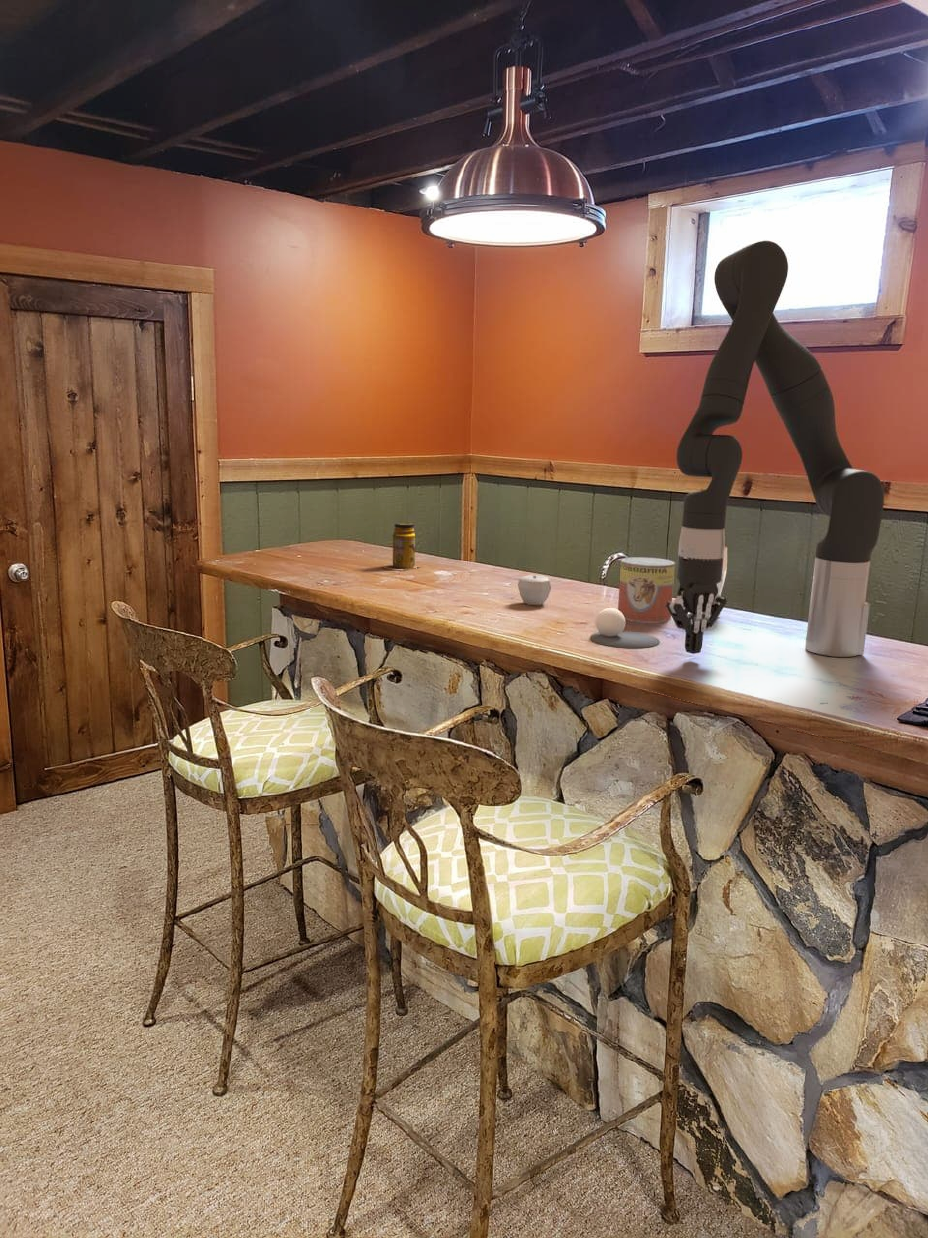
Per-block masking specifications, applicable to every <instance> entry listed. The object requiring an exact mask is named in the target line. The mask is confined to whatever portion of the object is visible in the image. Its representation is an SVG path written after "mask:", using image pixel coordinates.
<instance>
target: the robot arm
mask: <svg viewBox="0 0 928 1238" xmlns="http://www.w3.org/2000/svg"><path fill="white" fill-rule="evenodd" d="M788 263H789V262H788V257H787V255H786V253H785V251H784V250H783V248H782V247H781V246H780V245H779V244H778V243H777V242H775V241H772V240H767V239H763V240H757V241H755V242H753V243H750V244H748V245H746V246H744V247H742V248H741V249H739V250H737V251H735V252H733V253H731V254H729V255H727V256H725V257H724V258H722V259H721V260H720V262H719V263H718V264H717V266H716V268H715V272H714V285H715V290H716V292H717V293H716V294H717V296H718V297H719V300H720V301H721V303H722V304H721V305H723V307H724V310H725V311H726V312H727V314H728V316H729V317H730V318H731V324H730V327H729V328H728V331H727V332H726V334H725V336H724V338H723V339H722V342H721V343H720V345H719V347H718V349H717V350H716V352H715V354H714V356H713V358H712V360H711V363H709V364H710V365H709V367H708V369H707V373H706V377H705V379H704V384H703V389H702V392H701V397H700V401H699V404H698V407H697V409H696V411H695V413H694V415H693V416H692V419H691V421H690V423H689V424H688V426H687V427H686V430H685V431H684V433H683V435H682V436H681V439H680V441H679V443H678V447H677V450H676V458H675V459H676V465H677V468H678V469H679V471H680V472H681V473H682V474H683V475H685V476H689V477H701V478H711V481H710V483H709V485H708V486H707V488H706V489H704V490H696V491H691V492H689V493H687V494H686V495H685V497H684V498H683V499H684V501H683V508H682V523H681V530H680V536H679V540H678V542H679V543H678V555H677V563H676V564H677V565H676V567H677V568H676V579H677V581H678V582H679V587H678V589H677V591H676V598H675V599H674V600H672V602H670V601H669V602H667V604H666V607H667V609H668V611H669V612H670V614H671V619H673V622H674V624H675V626H676V627H677V628H678V629H681V630H684V632H685V636H684V637H685V639H684V640H685V641H684V648H685V652H687V653H688V654H693V655H695V654H699V653H701V652H702V648H703V639H704V632H706V629H708V628H712V627H713V626H714V624H715V622H716V621H717V619H718V616H719V614H720V615H721V613H722V611H723V609H724V608H725V606H726V604H727V598H726V597H721V595H720V596H719V594H718V587H717V584H718V583H720V582H721V580H722V570H723V559H724V547H726V546H725V544H726V536H725V528H726V519H727V517H726V515H727V506H728V501H729V498H730V495H731V492H732V489H733V488H734V487H733V486H734V483H735V480H736V478H737V476H738V473H739V470H740V468H741V464H742V461H743V449H742V446H741V443H740V441H739V440H738V439H737V438H736V437H735V436H733V435H730V434H729V435H728V434H714V432H715V431H717V429H719V428H723V427H726V426H729V425H733V424H735V423H737V422H738V421H739V420H740V419H741V415H742V414H743V413H742V412H743V410H744V409H743V408H744V404H745V401H746V395H747V391H748V387H749V385H750V383H749V382H750V379H751V375H752V371H753V368H754V364H755V365H756V367H757V369H758V370H759V372H760V375H761V377H762V379H763V381H764V384H765V386H766V388H767V390H768V394H769V395H770V398H771V400H772V402H773V404H774V406H775V409H776V410H777V413H778V415H779V416H780V418H781V420H782V423H783V424H784V427H785V428H786V431H787V433H788V435H789V437H790V439H791V441H792V443H793V445H794V447H795V449H796V451H797V453H798V455H799V457H800V459H801V463H802V464H803V469H804V470H805V473H806V477H807V479H808V482H809V485H810V489H811V493H812V495H813V498H814V501H815V503H816V505H817V506H818V509H820V511H821V513H823V514H825V515H826V516H827V517H829V522H828V527H827V531H826V534H825V536H824V537H823V538H822V539H821V540H819V541H818V542H817V543H816V548H815V555H814V556H815V557H814V558H815V559H814V565H813V576H812V584H811V591H810V592H811V594H810V602H809V612H808V621H807V630H806V637H805V649H806V650H807V651H808V652H810V653H814V654H818V655H822V656H826V657H827V656H829V657H835V658H836V657H837V658H849V657H855V656H864V653H865V646H866V636H867V629H868V622H869V613H870V603H869V602H866V597H867V590H868V589H867V588H868V582H869V573H870V567H871V566H870V565H871V557H872V552H873V551H874V549H875V547H876V545H877V543H878V539H879V533H880V530H881V528H880V527H881V523H882V516H883V511H884V504H885V489H884V486H883V483H882V481H881V480H880V478H879V477H878V476H877V475H876V474H874V473H873V472H871V471H868V470H864V469H856V468H854V467H853V466H852V465H853V464H851V462H850V460H849V459H848V457H847V455H846V452H845V451H844V449H843V447H842V445H841V443H840V439H839V436H838V433H837V426H836V407H835V400H834V396H833V393H832V390H831V387H830V384H829V382H828V380H827V378H826V377H827V376H825V374H824V371H823V369H822V366H821V364H820V362H819V361H818V360H817V358H816V357H815V355H814V354H813V353H812V352H811V351H810V349H808V348H807V347H806V346H805V345H804V344H802V342H800V341H799V340H798V339H797V338H795V337H794V336H793V335H791V334H790V332H788V331H787V330H786V329H785V328H784V327H783V326H782V325H781V323H780V322H779V320H778V319H777V318H776V315H775V314H774V311H775V309H776V307H777V304H778V302H779V299H780V297H781V295H782V293H783V290H784V288H785V287H784V286H785V284H786V281H787V279H788V278H787V277H788V272H789V264H788ZM702 612H703V613H702ZM710 615H711V616H710Z"/></svg>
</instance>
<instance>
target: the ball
mask: <svg viewBox="0 0 928 1238" xmlns="http://www.w3.org/2000/svg"><path fill="white" fill-rule="evenodd" d="M625 626H626V620H625V618H624V616H623V614H622V613H621V612H620V611H619V610H618V608H614V607H607V608H605V609H602V610H601V611H600V612H598V614H597V616H596V619H595V627H596V629H597V631H598V632H600V633H601V634H602V635H604V636H607V637H615V636H617V635H619V634H620V633H621V632H622V631H625V630H624V629H625Z"/></svg>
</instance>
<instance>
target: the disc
mask: <svg viewBox="0 0 928 1238" xmlns="http://www.w3.org/2000/svg"><path fill="white" fill-rule="evenodd" d="M589 637H590V640H591V641H592V642H594V643H596V644H598V645H602V646H606V647H607V646H608V647H610V648H611V647H612V648H620V649H647V648H653V647H657V646H658V645H660V643H661V642H660V639H659V638H658V637H656V636H654V635H651V634H647V633H643V632H635V631H629V630H627V631H626V630H623V631H622V632H621V633H620V634H619V635H617V636H615V637H607V636H604V635H602V634H601V633H600V632H599V631H598V632H595V633H592V634H591V635H590V636H589Z"/></svg>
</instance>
